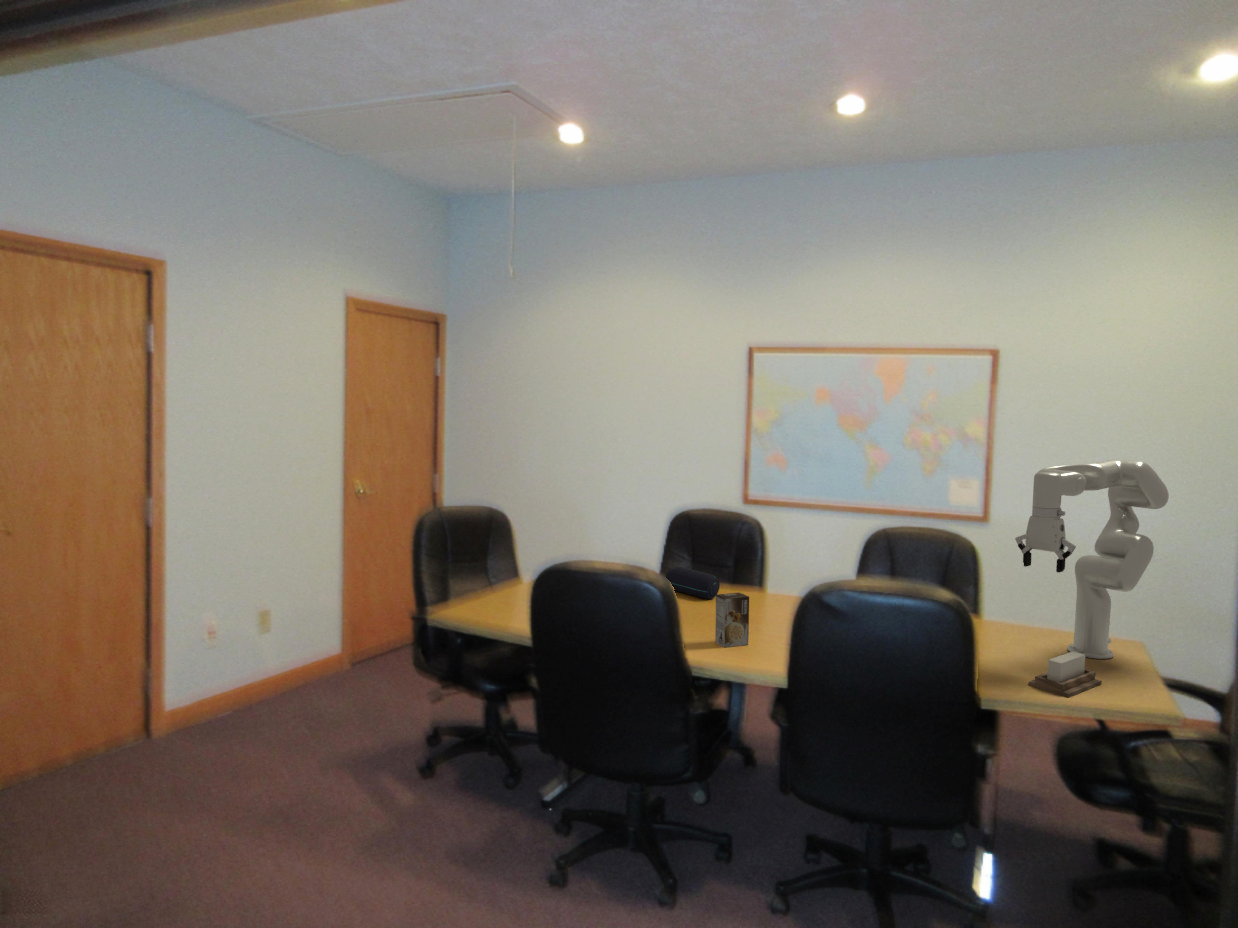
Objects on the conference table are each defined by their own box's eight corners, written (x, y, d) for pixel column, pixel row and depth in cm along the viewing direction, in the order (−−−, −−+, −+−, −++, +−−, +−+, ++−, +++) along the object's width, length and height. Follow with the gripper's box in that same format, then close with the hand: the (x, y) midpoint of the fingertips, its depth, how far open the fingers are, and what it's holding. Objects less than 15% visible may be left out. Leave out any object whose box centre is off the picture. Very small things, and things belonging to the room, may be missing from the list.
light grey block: (1071, 674, 227) (1072, 651, 227) (1083, 678, 224) (1085, 654, 224) (1046, 683, 219) (1048, 659, 219) (1059, 687, 216) (1061, 663, 216)
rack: (1061, 672, 232) (1062, 662, 232) (1101, 684, 223) (1102, 673, 223) (1028, 684, 221) (1028, 674, 221) (1068, 697, 212) (1069, 686, 212)
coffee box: (738, 639, 259) (740, 591, 257) (748, 645, 253) (750, 596, 252) (714, 642, 255) (715, 593, 254) (724, 647, 249) (725, 598, 248)
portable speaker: (723, 598, 312) (724, 574, 312) (706, 602, 306) (707, 577, 305) (679, 586, 331) (679, 563, 330) (662, 590, 325) (662, 566, 324)
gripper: (1082, 515, 230) (1079, 572, 232) (1023, 508, 244) (1021, 562, 246) (1070, 517, 226) (1067, 575, 228) (1011, 510, 240) (1008, 565, 241)
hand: (1043, 568), depth 237 cm, fingers open, 9 cm apart
